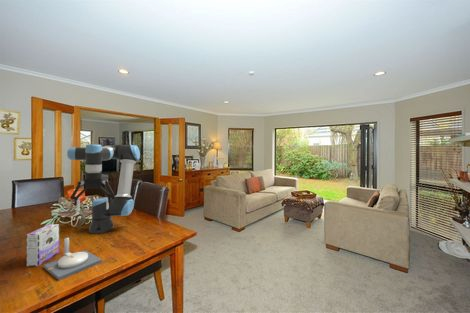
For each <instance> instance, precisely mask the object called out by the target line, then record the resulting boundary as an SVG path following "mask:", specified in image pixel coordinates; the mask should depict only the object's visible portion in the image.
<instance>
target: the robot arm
mask: <svg viewBox="0 0 470 313" xmlns="http://www.w3.org/2000/svg"><path fill="white" fill-rule="evenodd" d="M66 152H67V154H66V156H67V158H68V159H69V160H72V161H85V163H84V166H85V167H84V168H85V170H84V171H85V174H84V178H85V179H84V181H82V180H79V181H78V182H77V186H76V187H75V189H74V191H73V192H72V194H71V195H70V197H69V198H70V199H71V200H74V206H76V213H79V212H80V209H81V206H80V205H81V204H80V202H81V199H80V197H81V196H83V194H84V193H85V192H86V191H87V190H88V189H89V190H93V189H94V190H97V189H98V190H100V191H101V192H102V193H103V194H104V195H105V197H100V198H96V199H94V200H93V201H92V202H91V221H90V224H89V228H88V233H90V234H92V235H97V234H105V233H108V232H111V231H112V230H114V228H115V227H114V222H113V220H112V216H114V217H118V216H119V217H120V216H121V217H123V216H130V215H131V214H132V211H133V210H134V207H135V200H134V199H133V196H132V195H131V190H132V182H133V175H134V168H135V167H134V166H135V164H136V163H137V161H139V160H140V158H141V152H140V149H139V147H138V145H135V144H134V145H133V144H110V145H104V146H102V145H101V144H95V143H94V144H91V143H88V144H86V145H85V147H76V146H75V147H74V146H72V147H69V148H68V150H67V151H66ZM111 159H112V160H119V162H120V163H121V165H120V172H119V173H120V174H119V181H118V185H117V192H116V195H115V192H114V191H113V189H112V187H111V186H110V184H109V180H108V179H106V180H103V179H102V175H103V172H102V171H103V161H105V162H106V161H109V160H111ZM102 184H103V185H104V186H106V188H107V190H108V191H107V190H106V189H105V188H104V186H102ZM83 185H85V187H84V188H83V189H82V190H81V191H80V192H79V193H78V191H79V190H80V188H81V187H82V186H83ZM77 193H78V194H77ZM112 197H113V199H112Z"/></svg>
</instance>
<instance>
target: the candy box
mask: <svg viewBox="0 0 470 313" xmlns="http://www.w3.org/2000/svg"><path fill="white" fill-rule="evenodd" d="M25 248H26V251H25V252H26V256H25V257H26V259H25V260H26V267H39V266H41V265H42V264H43V263H46V262H47V261H48V260H50V259H51V258H53V257H55V256H56V255H57V254H59V253H60V224H59V223H58V224H57V223H56V224H55V223H54V224H52V223H51V224H46V225H44V226H42V227H41V228H38V229H36V230H34V231H31V232H29V233H26V247H25Z"/></svg>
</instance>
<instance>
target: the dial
mask: <svg viewBox="0 0 470 313" xmlns="http://www.w3.org/2000/svg"><path fill="white" fill-rule="evenodd" d="M63 240H64V242H63V247H64V248H63V249H64V250H63V255H64V256H62V257H60V258H59V259H57V260H58V267H59V268H72V267H76V266H79V265H81V264H83V263H85V262H86V261H87V260H88V253H86V252H81V251H77V252H73V253H72V252H71V251H70V237H65V238H64V239H63Z"/></svg>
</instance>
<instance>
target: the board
mask: <svg viewBox="0 0 470 313" xmlns="http://www.w3.org/2000/svg"><path fill="white" fill-rule="evenodd" d="M80 252H86V253H88V260H87V261H86V262H85V263H83V264H81V265H79V266H76V267H72V268H59V267H58V260H59V259H56V260H52V261H51V262H50V261H49V262H48V263H47V262H46V263H45V264H43V268H44V269H45V271H46V272H48V273H49V274H51V275H52V276H53V277H54V278H55V279H56V280H58V281H61V280H63V279H66V278H68V277H70V276H73V275H75V274H78V273H80V272H83V271H84V270H86V269H87V270H88V269H89V268H91V267H94V266H96V265H98V264H101V263H102V261H103V259H102V258H100V257H99V256H96V255H95V254H93V253H91V252H89V251H88V250H85V249H84V250H82V251H80Z"/></svg>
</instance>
